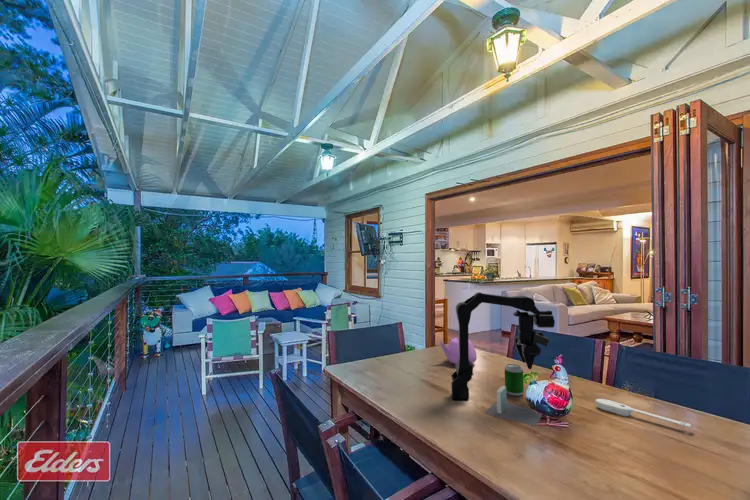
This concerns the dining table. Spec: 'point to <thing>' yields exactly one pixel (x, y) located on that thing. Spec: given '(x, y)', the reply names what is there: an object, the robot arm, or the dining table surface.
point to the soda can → (514, 379)
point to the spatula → (629, 410)
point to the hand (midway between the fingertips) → (526, 365)
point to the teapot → (453, 351)
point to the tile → (501, 399)
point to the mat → (516, 414)
